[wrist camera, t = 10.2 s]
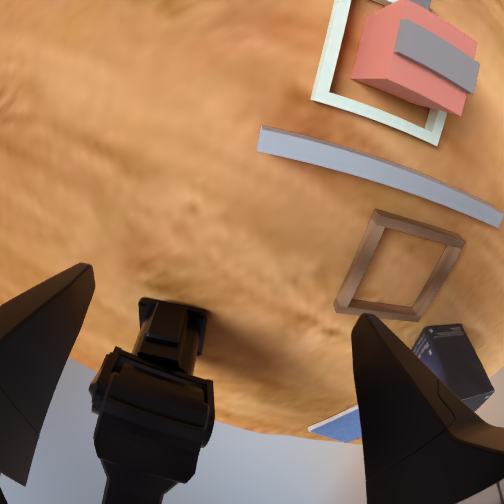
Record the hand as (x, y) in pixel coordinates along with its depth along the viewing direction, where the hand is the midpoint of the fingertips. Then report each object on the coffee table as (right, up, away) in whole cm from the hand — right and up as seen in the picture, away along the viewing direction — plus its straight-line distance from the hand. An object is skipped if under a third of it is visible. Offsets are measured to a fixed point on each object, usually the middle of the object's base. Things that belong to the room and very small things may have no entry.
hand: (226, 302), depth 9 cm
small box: (+22, -11, +22) cm, 33 cm away
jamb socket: (+14, 0, +15) cm, 20 cm away
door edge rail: (+12, +7, +11) cm, 18 cm away
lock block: (+10, +15, +6) cm, 19 cm away
